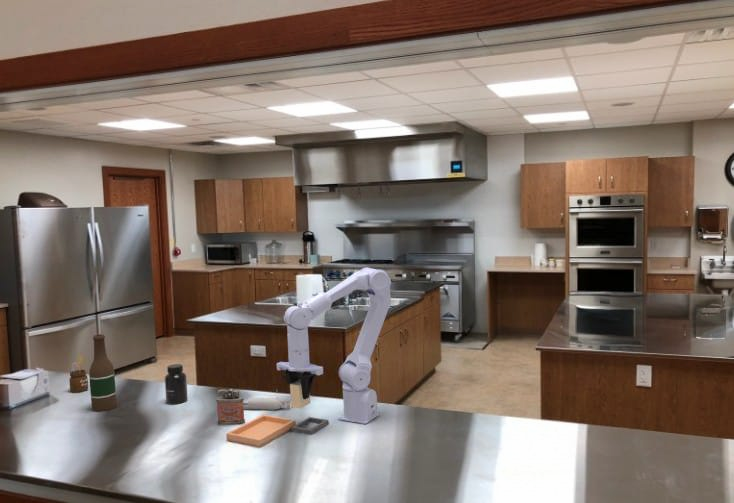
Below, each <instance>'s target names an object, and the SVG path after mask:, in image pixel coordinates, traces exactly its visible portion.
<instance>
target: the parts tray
mask: <svg viewBox="0 0 734 503" xmlns="http://www.w3.org/2000/svg"><path fill="white" fill-rule="evenodd" d="M296 424H297V423H296V420H295V419H291V418H285V417H280V416H279V417H278V416H275V415H274V416H273V415H268V414H261V415H259V416H258V417H256V418H254V419H252V420H249V421H248V422H245V423H244V424H241V425H240V426H239V427H236V428H235V429H233V430H230V431H229V432H226V434H225V436H226V442H231V443H236V444H240V445H245V446H251V447H255V448H262V447H264V446H266V445H268V444H270V443H271V442H273V441H274V440H276V439H278V438H279V437H281V436H283V435H284V434H286V433H289V432H290V431H292V427H293V426H294V425H296Z"/></svg>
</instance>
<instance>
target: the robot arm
mask: <svg viewBox="0 0 734 503" xmlns="http://www.w3.org/2000/svg"><path fill="white" fill-rule="evenodd" d="M391 284H392V280H391V279H390V276H389V274H388V273H387V272H386V271H385V270H383V269H375V268H371V267H367V266H366V267H363V268H361V269H359V270H357V271H355V272H353V273H352V274H351V275H349V276H348V277H347V278H345V279H344V280H342V281H341V282H340V283H338V284H337V285H335V286H334V287H332V288H331V289H329V290H327V291H326V292H324V291H314V292H312V294H311V296H310V297H307V298H306V299H304V300H303V301H298V302H297V305H292V306H290V307H288V308H287V309H286V311H285V312H284V315H283V321H284V323H285V324H286V326H287V327H286V328H287V350H288V351H287V352H288V361H286V362H285V361H280V362H277V363H276V370H277V371H285V372H284V373H283V374H282V376H283V378H284V379H285V381H286V383H287V385H288V387H289V388H290V384H292V383H294V382H296V381H298V380H300V382H301V386H302V396H303V399H307V398H309V395H310V396H311V389H312V385H313V383H314V380H315V378H316V376H320V375H321V376H322V375H323V374H324V367H323V366H319V365H316V364H313V363H310V346H309V332H308V331H309V330H308V327H309V326H310V323H311V321H312V320H314V319H316V318H318V317H319V316H321V315H323V314H324V313H325V312H327V311H328V310H331V307H332V304H333V303H334V302H336V301H337V300H340V299H341V298H343V297H345V296H346V295H348V294H350V293H351V292H354V291H356V290H360V291H364V292H365V293H366V294H367V296H368V298H369V300H370V305H369V307H368V311H367V313H366V315H365V319H364V321H363V323H362V326H361V328H360V331H359V334H358V337H357V340H356V342H355V346H354V348H353V351H352V352H351V353H349V355H347V357H346V359H345V361H344V362H343V363H342V365H340V367H339V370H338V376H339V379H340V380H341V381H342V400H343V414H342V415H340V416H338V420H339V421H346V422H353V423H358V424H363V425H364V424H365V425H366V424H368V423H369V422H371V421H373V420H374V419H375V418H377V417H378V416H379V415H380V414H379V413H378V396H377V392H376V391H375V390H374V389H371V388H369V387H368V386H369V384H370V382H371V373H372V372H371V371H372V368H373V366H372V362H371V357H372V354H373V352H374V350H375V347H376V343H377V342H378V338H379V335H380V333H381V330H382V327H383V325H384V321H385V319H386V317H387V314H388V312H389V308H390V305H391V303H392V298H391Z"/></svg>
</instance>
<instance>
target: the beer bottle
mask: <svg viewBox="0 0 734 503" xmlns="http://www.w3.org/2000/svg"><path fill="white" fill-rule="evenodd" d="M105 339H106V336H105V334H102V333H99V334H95V335H93V336H92V341H93V361H92V362H91V365H90V369H89V372H88V373H89V376H88V377H89V378H88V380H89V390H90V398H91V402H90V403H91V409H92V411H93V412H105V411H106V412H107V411H110V410H113V409H115V408H116V407H117V391H116V388H117V387H116V378H115V369H114V365H113V364H112V362H111V361H110V359H109V358H108V355H107V349H106V343H105Z"/></svg>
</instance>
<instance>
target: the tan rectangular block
mask: <svg viewBox="0 0 734 503" xmlns="http://www.w3.org/2000/svg"><path fill="white" fill-rule="evenodd" d="M289 392H290V408H294V409H299V410H300V409H302V408H304V407H306V406H307V405H310V404H311V394H310V395H309V398H307V399H303V396H302V386H301V382H300V379H299V380H298V381H296V382H294V383H292V384H290V387H289Z"/></svg>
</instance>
